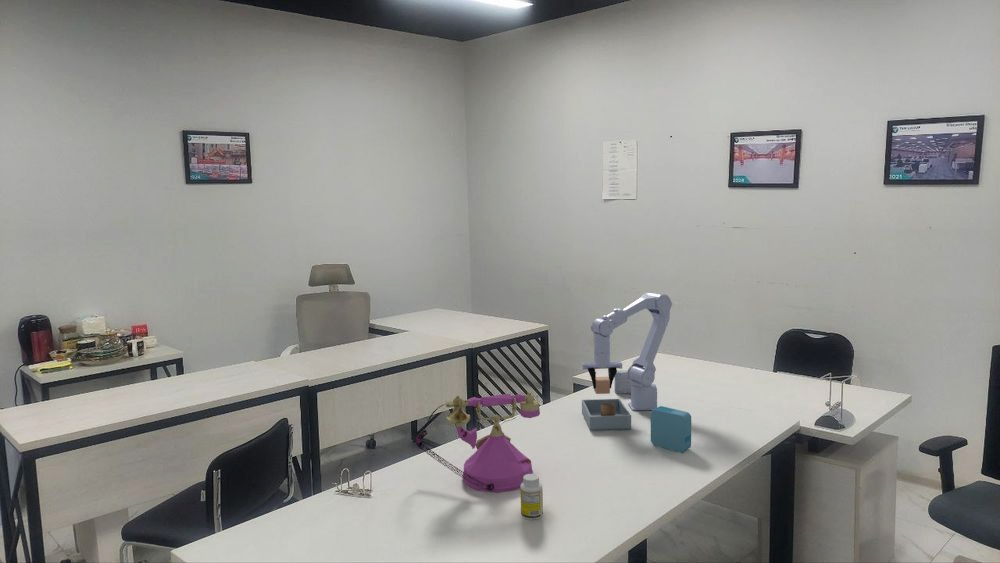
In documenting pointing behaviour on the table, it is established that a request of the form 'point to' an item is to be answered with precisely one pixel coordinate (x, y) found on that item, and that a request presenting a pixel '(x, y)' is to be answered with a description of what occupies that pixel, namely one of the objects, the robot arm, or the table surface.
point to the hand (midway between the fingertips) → (602, 387)
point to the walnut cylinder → (607, 409)
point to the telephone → (490, 444)
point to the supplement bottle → (531, 497)
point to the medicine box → (622, 382)
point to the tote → (603, 423)
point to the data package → (671, 429)
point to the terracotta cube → (602, 385)
